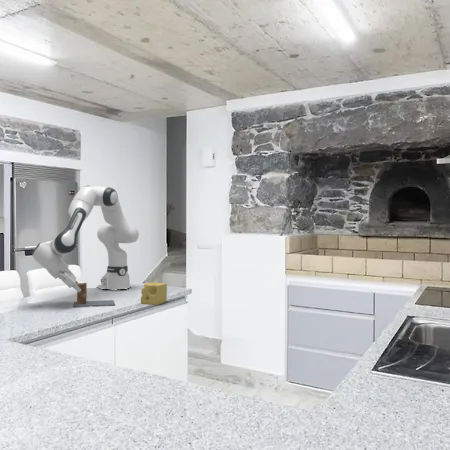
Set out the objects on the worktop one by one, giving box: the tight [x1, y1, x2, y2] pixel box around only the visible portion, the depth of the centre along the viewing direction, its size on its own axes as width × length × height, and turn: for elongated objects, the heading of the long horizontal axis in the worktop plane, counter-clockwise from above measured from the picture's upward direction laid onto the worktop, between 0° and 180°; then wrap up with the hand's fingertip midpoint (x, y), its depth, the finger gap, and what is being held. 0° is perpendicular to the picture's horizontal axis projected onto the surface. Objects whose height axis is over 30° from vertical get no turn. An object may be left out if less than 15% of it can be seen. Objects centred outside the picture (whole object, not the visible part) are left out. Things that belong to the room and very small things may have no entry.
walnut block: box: [76, 282, 88, 304], centre depth 231 cm, size 4×4×10 cm
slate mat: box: [72, 299, 116, 308], centre depth 233 cm, size 20×12×1 cm, turn 107°
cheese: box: [140, 281, 168, 306], centre depth 240 cm, size 10×11×10 cm
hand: (80, 289), depth 231 cm, fingers open, 8 cm apart
